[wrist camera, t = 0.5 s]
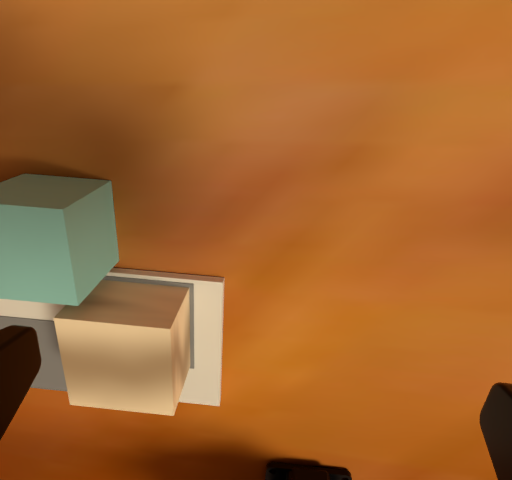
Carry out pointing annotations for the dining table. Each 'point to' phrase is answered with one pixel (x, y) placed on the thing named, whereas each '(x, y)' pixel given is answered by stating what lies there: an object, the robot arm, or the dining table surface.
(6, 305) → the cream grey flat board
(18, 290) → the teal cube
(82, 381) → the maple base block
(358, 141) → the dining table surface
